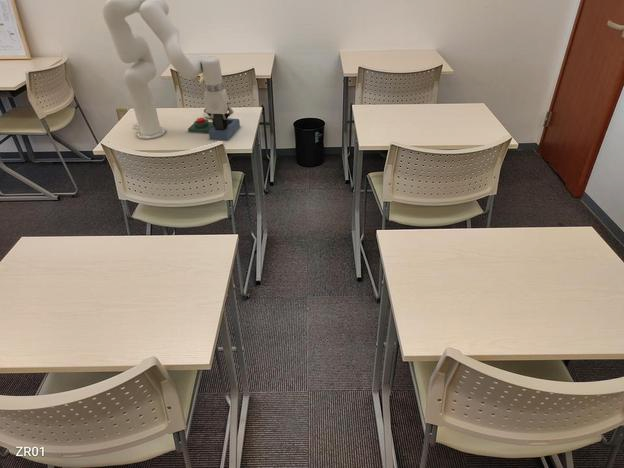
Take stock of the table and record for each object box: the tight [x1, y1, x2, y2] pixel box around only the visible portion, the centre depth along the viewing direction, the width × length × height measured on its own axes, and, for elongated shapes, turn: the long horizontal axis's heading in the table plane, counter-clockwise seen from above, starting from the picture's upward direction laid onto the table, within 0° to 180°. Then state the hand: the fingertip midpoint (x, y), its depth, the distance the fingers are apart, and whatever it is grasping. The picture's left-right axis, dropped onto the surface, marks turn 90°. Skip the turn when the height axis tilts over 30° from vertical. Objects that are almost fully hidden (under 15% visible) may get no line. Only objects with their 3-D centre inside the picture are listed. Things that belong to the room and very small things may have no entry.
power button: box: [196, 117, 206, 124], centre depth 227 cm, size 4×4×2 cm
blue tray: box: [208, 117, 241, 142], centre depth 223 cm, size 9×16×4 cm, turn 166°
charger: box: [213, 114, 227, 130], centre depth 217 cm, size 4×4×10 cm
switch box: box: [187, 118, 214, 134], centre depth 228 cm, size 10×9×4 cm
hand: (221, 126), depth 219 cm, fingers closed on charger, 4 cm apart
